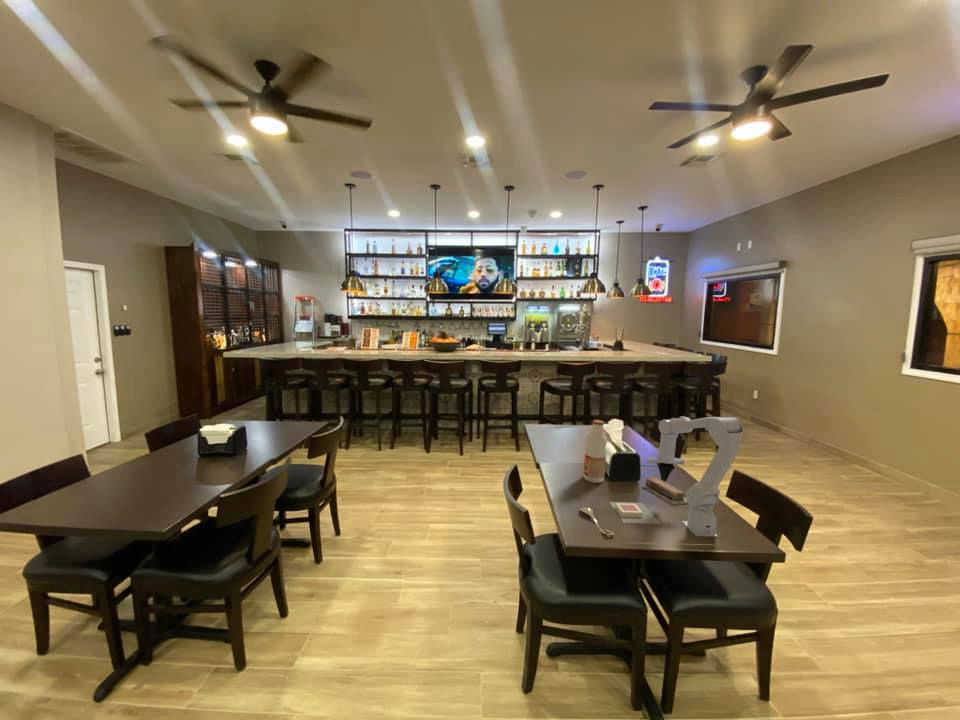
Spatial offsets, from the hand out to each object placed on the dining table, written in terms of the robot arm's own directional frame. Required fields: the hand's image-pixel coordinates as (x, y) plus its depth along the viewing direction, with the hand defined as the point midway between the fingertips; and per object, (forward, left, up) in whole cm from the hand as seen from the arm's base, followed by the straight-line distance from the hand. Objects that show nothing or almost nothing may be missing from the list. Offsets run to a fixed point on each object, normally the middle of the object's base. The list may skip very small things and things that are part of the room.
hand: (663, 480), depth 162 cm
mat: (-8, +15, -10) cm, 20 cm away
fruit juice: (+23, +21, -11) cm, 33 cm away
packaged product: (+9, -6, -11) cm, 16 cm away
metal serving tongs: (-16, +32, -11) cm, 38 cm away
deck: (-8, +13, -9) cm, 18 cm away
